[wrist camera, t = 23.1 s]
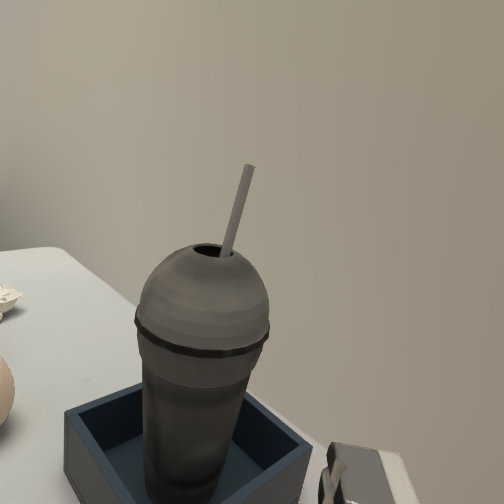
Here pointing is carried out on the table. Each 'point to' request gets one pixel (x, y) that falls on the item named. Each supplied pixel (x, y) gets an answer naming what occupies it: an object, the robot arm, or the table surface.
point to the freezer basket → (131, 454)
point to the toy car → (8, 298)
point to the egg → (5, 390)
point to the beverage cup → (197, 360)
